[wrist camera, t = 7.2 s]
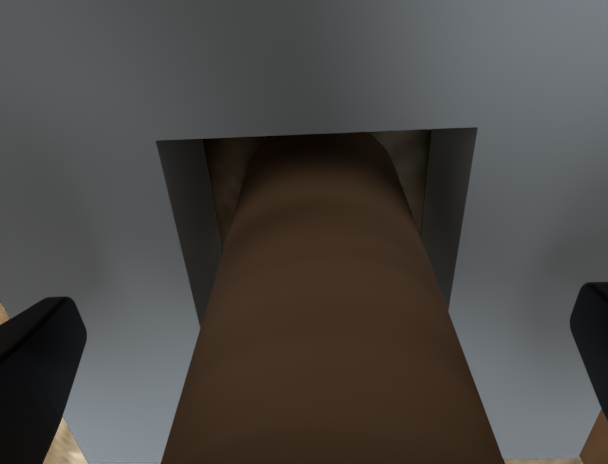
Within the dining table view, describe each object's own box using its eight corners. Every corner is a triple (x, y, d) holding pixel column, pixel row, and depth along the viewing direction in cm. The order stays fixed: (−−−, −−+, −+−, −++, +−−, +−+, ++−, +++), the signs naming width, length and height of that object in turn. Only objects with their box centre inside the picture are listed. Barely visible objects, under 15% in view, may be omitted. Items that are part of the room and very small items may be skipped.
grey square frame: (533, 372, 15) (578, 458, 13) (124, 380, 16) (88, 463, 13) (716, -187, 8) (916, -252, 5) (-77, -131, 8) (-252, -166, 6)
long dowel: (394, 255, 13) (485, 606, 6) (253, 260, 13) (186, 606, 6) (403, 116, 11) (564, 416, 4) (234, 123, 11) (99, 425, 4)
